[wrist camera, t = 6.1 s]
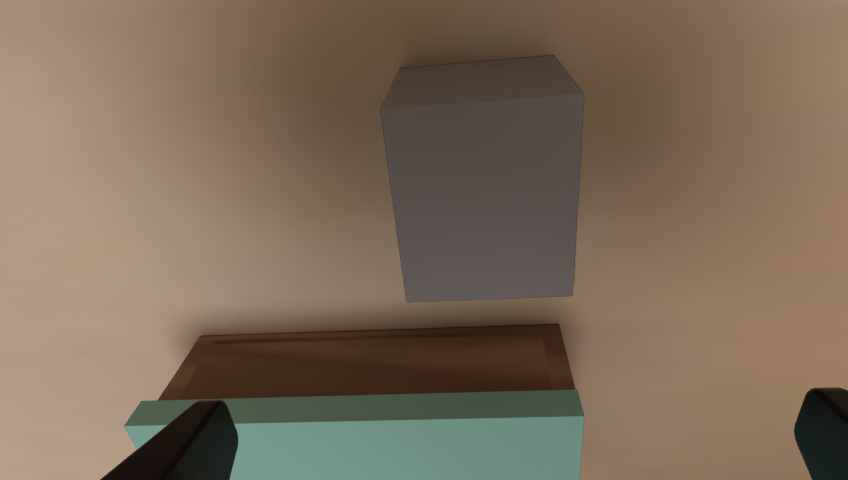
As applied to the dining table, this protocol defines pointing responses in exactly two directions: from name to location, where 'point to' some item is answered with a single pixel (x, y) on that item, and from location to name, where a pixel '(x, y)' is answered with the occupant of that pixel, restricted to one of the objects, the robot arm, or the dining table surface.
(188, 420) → the robot arm
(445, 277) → the block
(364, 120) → the dining table surface
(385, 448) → the lid
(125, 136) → the dining table surface
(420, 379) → the storage box
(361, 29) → the dining table surface
